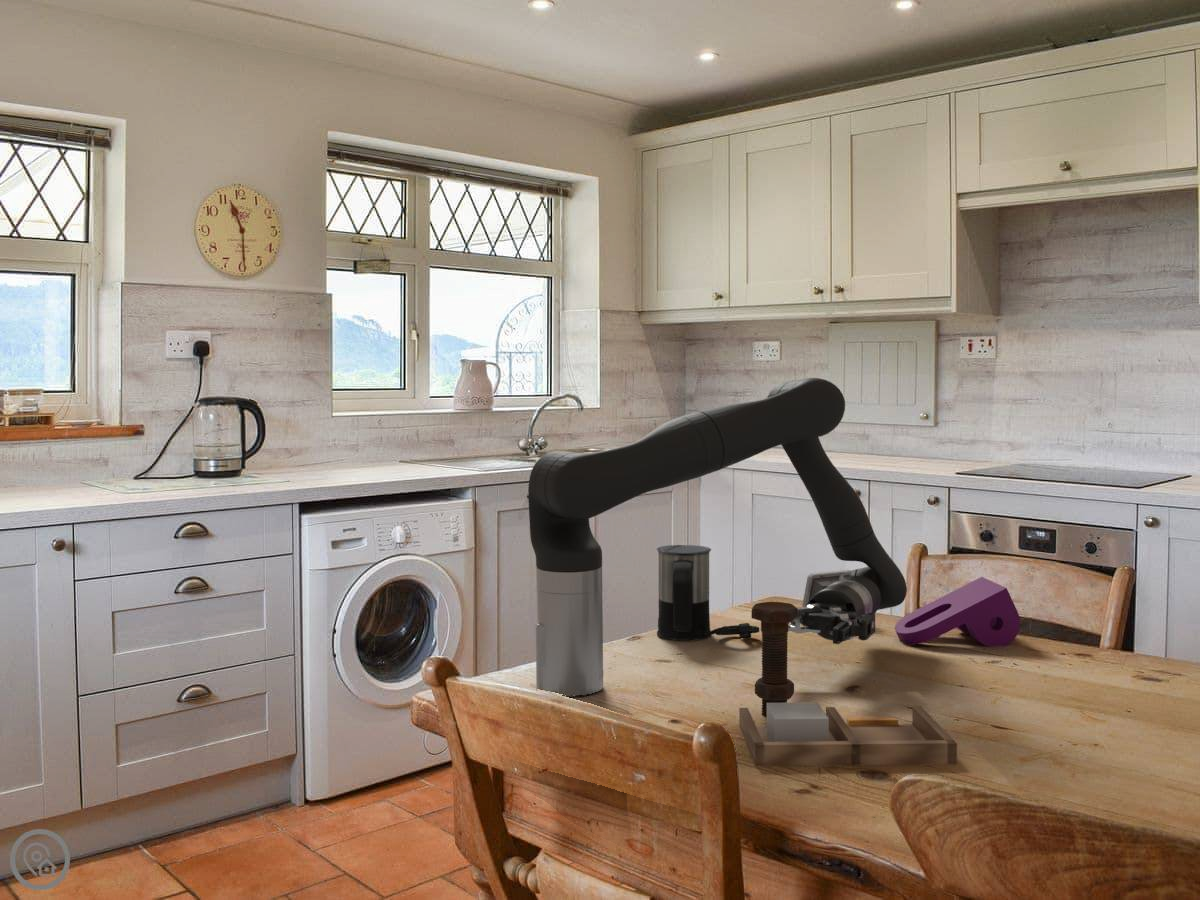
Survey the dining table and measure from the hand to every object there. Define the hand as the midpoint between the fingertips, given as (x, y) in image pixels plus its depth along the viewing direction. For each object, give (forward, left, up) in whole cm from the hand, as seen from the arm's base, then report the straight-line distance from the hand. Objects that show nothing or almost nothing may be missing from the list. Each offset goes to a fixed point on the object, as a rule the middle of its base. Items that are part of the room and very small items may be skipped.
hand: (804, 632), depth 143 cm
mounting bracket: (+30, +31, -10) cm, 45 cm away
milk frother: (-10, +34, -9) cm, 37 cm away
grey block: (-5, -21, -8) cm, 23 cm away
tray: (0, -21, -9) cm, 23 cm away
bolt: (-6, -10, -9) cm, 15 cm away
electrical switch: (+13, +44, -9) cm, 47 cm away
